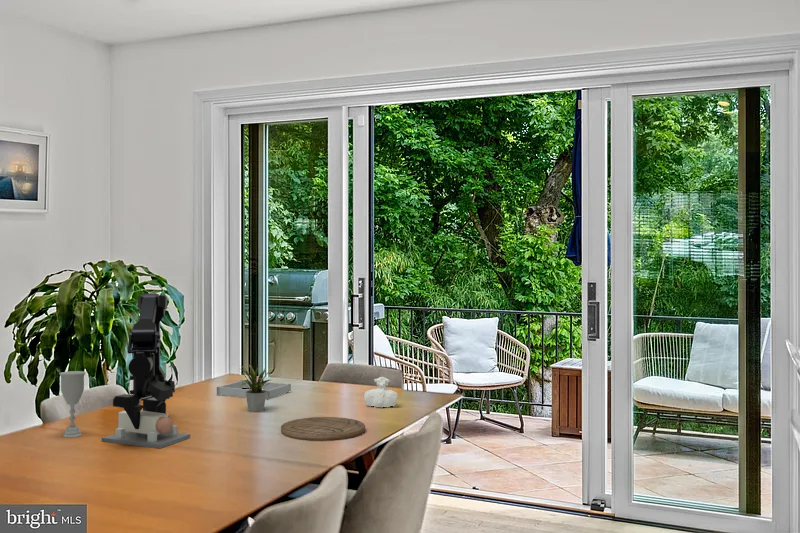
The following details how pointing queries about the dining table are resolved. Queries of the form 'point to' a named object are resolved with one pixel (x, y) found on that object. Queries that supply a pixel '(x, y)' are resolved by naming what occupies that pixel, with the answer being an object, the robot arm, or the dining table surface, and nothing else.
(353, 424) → the trivet
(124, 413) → the white block
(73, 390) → the chalice
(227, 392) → the tray
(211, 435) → the dining table surface
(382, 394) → the bust
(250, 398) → the house plant
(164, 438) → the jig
